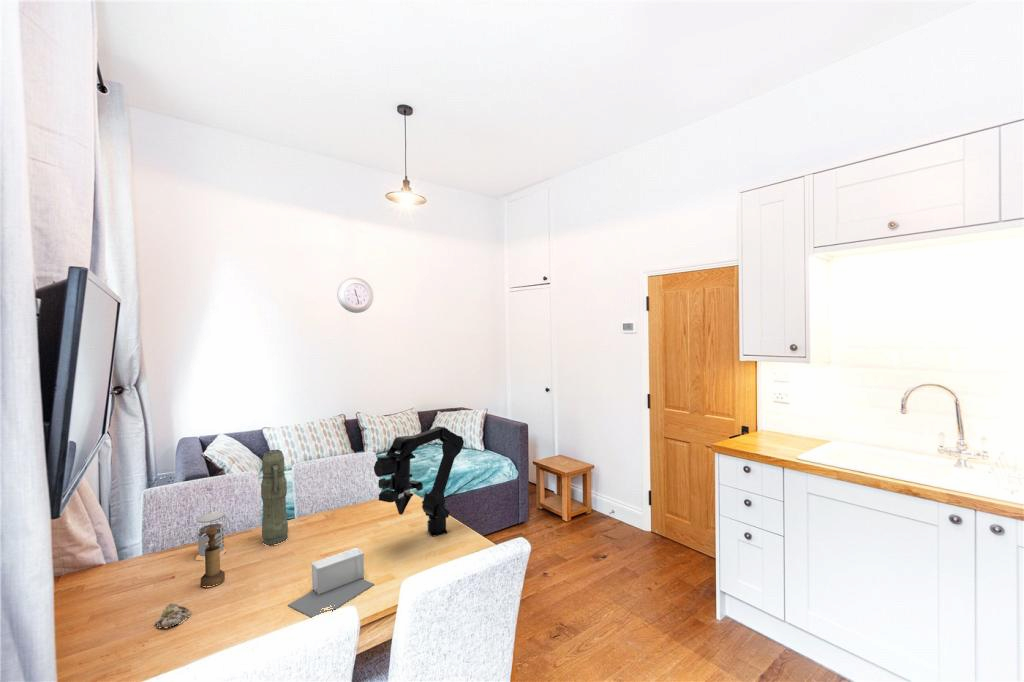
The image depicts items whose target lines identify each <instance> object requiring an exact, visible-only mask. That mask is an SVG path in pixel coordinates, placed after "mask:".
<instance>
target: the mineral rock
mask: <svg viewBox="0 0 1024 682" xmlns="http://www.w3.org/2000/svg"><path fill="white" fill-rule="evenodd" d="M190 614H193V612H192V611H191V610H190V609H189V608H187V607H185V606H182V605H179V604H178V603H170V604H167V606H166V607H165V609H164V610H163V611H162V614H161V616H160V617H159V618H158V619H157V620H156V621H155V622H154V624H157V625H158V627H170V628H172V627H171V626H173V627H175V626H174V625H176V624H179V623H181V622H182V621H183V620H185V619H186V618H187V617H188V616H190ZM190 617H191V616H190ZM179 625H180V624H179ZM176 626H177V625H176ZM158 627H157V628H158Z"/></svg>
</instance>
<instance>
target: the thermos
mask: <svg viewBox="0 0 1024 682" xmlns="http://www.w3.org/2000/svg"><path fill="white" fill-rule="evenodd" d="M261 463H262V465H261V468H262V469H261V471H262V480H261V483H260V497H261V500H262V518H263V519H262V520H263V523H262V524H261V525H262V526H261V538H262V544H263V543H264V544H266V545H273V546H275V545H274V544H278V543H281V542H283V541H285V540H286V539H287V538H288V539H289V537H288V535H289V534H288V533H289V522H288V519H287V503H286V497H287V494H288V484H287V478H286V474H285V455H284V453H283V451H282V450H280V449H271V450H267V451H266V452H264V453H263V457H262V459H261ZM288 539H287V540H288ZM287 540H286V541H287ZM286 541H285V542H286ZM283 543H284V542H283ZM281 544H282V543H281ZM278 545H279V544H278Z"/></svg>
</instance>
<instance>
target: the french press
mask: <svg viewBox="0 0 1024 682" xmlns="http://www.w3.org/2000/svg"><path fill="white" fill-rule="evenodd" d="M213 489H214V488H213V486H212V485H211V486H208V487H206V491H209V492H211V491H212V490H213ZM211 504H212V503H211V501H209V512H206V513H203V514H202V515H201V516H199V517H198V518H197V519H196V521H197V522H198V523H209V524H208V525H205V526H202V527H200V529H198V532H199V533H198V534H197V535H198V536H197V541H198V543H197V544H198V548H197V549H198V554H199V555H200V556H205V549H206V548H208V547H209V545H208V541H209V537H208V536H207V535H206V531H207V529H208V528H209V527H213V526H214V527H216V528H217V533H216V535H215V540H216V545H215V546H220V552H221V551H223V550H224V548H225V545H224V544H225V543H224V540H225V536H226V535H227V534H228V532H229V531H230V528H231V520H230V518H229V517H227V516H224V513H223V512H220V511H211V507H212V505H211ZM224 519H225V522H226V523H225V524H226V525H225V529H224V528H223V524H221V523H214V524H212V522H214V521H222V522H223V520H224ZM228 522H229V524H228ZM227 527H228V528H227ZM224 533H225V534H224Z"/></svg>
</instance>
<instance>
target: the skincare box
mask: <svg viewBox="0 0 1024 682" xmlns="http://www.w3.org/2000/svg"><path fill="white" fill-rule="evenodd" d="M364 555H365V554H364V552H363V550H361V548H359V547H354V548H349V549H347V550H346V551H342V552H339V553H336V554H333V555H329V556H327V557H324V558H322V559H319V560H316V561H313V562H311V581H312V582H311V583H312V584H311V585H312V586H311V587H312V588H311V589H313V590H315V592H316V593H317V594H318V595H319V594H322V593H324V592H327V591H330V590H332V589H335V588H337V587H340V586H342V585H345V584H347V583H350V582H353V581H355V580H358V579H363V578H365V561H364V560H365V556H364Z"/></svg>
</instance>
